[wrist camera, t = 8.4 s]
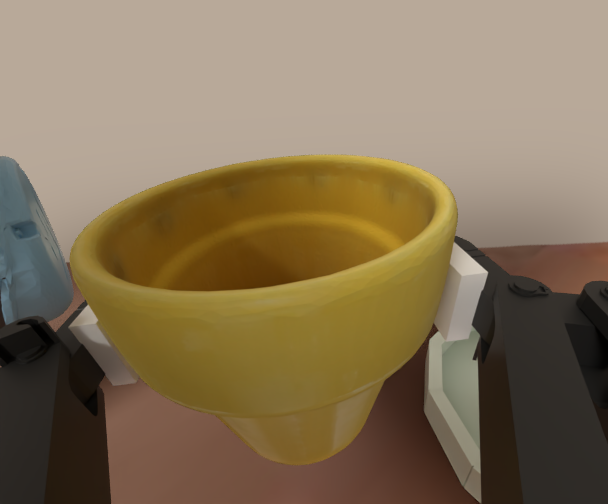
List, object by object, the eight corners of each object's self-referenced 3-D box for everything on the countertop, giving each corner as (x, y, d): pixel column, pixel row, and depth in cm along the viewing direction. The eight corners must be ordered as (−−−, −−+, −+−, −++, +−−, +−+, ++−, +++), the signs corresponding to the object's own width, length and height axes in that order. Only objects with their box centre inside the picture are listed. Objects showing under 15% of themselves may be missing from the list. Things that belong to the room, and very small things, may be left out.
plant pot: (331, 288, 19) (320, 140, 14) (472, 418, 11) (562, 186, 6) (178, 359, 16) (89, 191, 10) (227, 628, 8) (-44, 469, 2)
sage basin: (420, 517, 17) (426, 498, 16) (426, 312, 32) (430, 292, 31) (960, 746, 11) (1063, 753, 9) (653, 350, 25) (672, 327, 24)
